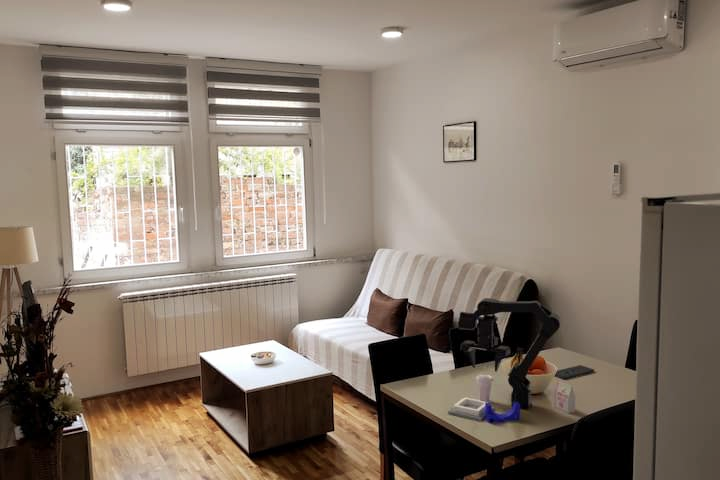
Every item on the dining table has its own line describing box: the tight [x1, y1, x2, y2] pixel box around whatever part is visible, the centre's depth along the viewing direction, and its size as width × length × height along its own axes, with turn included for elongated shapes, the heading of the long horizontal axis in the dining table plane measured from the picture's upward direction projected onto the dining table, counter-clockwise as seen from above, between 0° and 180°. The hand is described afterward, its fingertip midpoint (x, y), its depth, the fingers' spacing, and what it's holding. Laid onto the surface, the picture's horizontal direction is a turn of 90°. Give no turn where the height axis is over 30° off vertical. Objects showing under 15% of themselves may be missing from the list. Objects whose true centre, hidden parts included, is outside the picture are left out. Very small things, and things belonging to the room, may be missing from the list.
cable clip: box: [484, 402, 521, 424], centre depth 216 cm, size 12×4×6 cm, turn 92°
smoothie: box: [475, 365, 494, 403], centre depth 234 cm, size 6×6×14 cm
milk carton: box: [553, 381, 576, 414], centre depth 225 cm, size 4×7×10 cm, turn 26°
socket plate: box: [447, 396, 495, 422], centre depth 224 cm, size 13×13×3 cm
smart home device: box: [554, 364, 595, 381], centre depth 267 cm, size 8×2×20 cm
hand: (484, 369), depth 234 cm, fingers open, 9 cm apart
